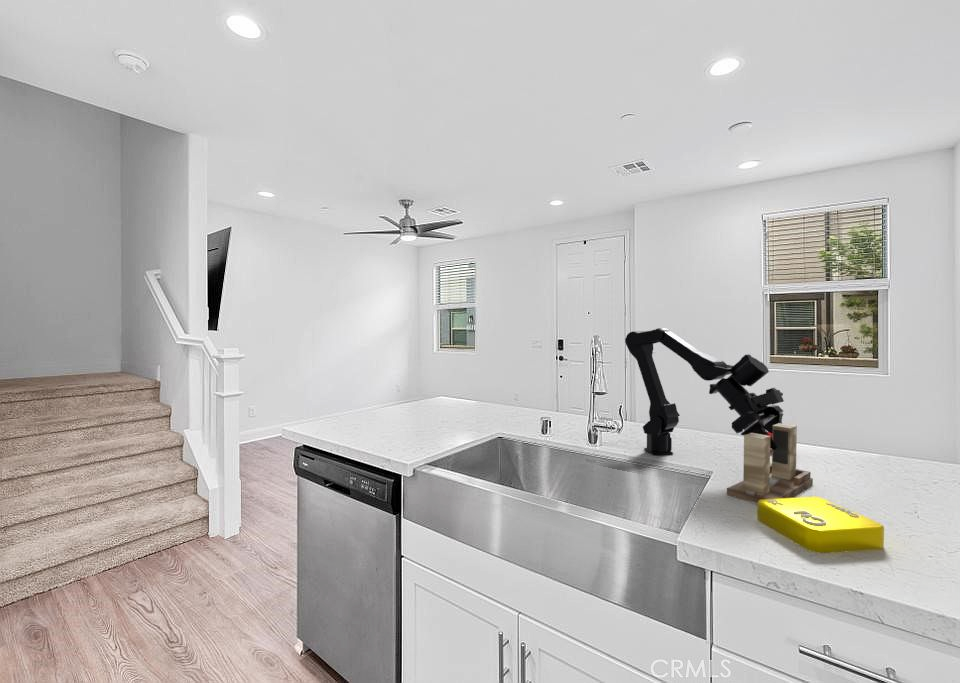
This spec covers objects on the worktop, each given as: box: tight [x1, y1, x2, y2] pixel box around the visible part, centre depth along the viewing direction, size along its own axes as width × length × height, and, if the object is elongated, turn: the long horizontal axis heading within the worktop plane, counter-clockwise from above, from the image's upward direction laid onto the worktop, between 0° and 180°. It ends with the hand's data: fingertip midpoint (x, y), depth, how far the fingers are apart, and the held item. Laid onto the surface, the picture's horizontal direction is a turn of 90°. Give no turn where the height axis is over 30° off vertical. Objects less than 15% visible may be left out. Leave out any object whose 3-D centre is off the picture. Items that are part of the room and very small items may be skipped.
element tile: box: [757, 496, 885, 554], centre depth 87 cm, size 15×15×5 cm
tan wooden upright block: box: [771, 423, 798, 480], centre depth 113 cm, size 5×4×13 cm
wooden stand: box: [726, 433, 814, 504], centre depth 109 cm, size 24×10×14 cm, turn 127°
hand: (783, 445), depth 113 cm, fingers open, 9 cm apart
